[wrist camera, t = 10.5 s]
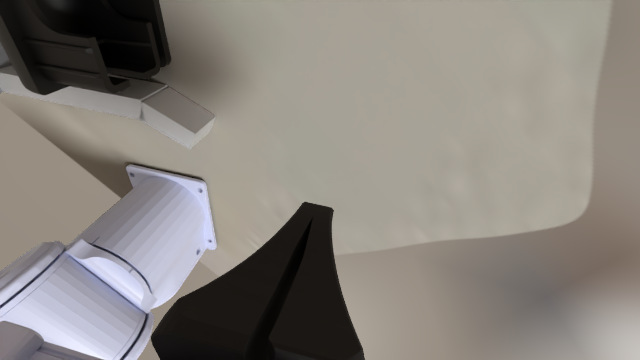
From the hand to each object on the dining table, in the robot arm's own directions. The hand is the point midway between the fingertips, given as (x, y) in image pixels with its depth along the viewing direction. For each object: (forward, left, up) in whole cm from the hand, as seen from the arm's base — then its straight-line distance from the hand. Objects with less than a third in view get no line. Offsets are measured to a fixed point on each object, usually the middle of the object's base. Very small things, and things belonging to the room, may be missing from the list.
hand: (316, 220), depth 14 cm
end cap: (+7, +17, -10) cm, 21 cm away
